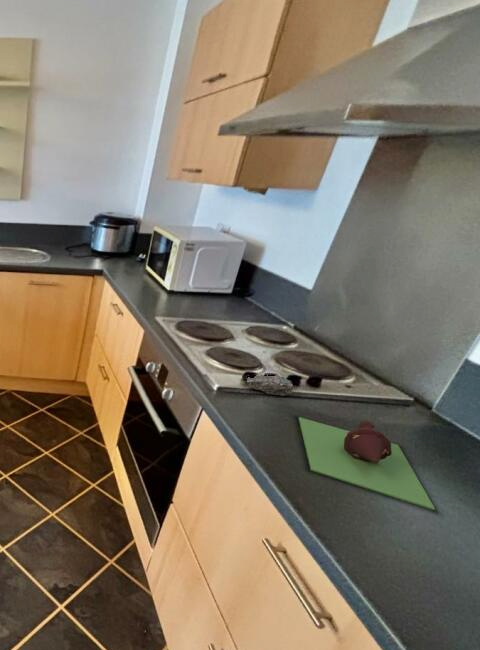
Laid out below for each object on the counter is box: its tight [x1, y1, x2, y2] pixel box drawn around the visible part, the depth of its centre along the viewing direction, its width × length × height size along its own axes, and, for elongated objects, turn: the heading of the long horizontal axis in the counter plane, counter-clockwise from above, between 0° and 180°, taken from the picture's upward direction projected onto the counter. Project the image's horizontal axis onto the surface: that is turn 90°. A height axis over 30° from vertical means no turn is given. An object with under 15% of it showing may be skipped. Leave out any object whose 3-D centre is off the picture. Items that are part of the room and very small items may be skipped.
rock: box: [245, 373, 294, 397], centre depth 109 cm, size 8×10×4 cm
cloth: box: [298, 416, 436, 511], centre depth 85 cm, size 18×22×1 cm
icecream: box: [344, 420, 392, 464], centre depth 83 cm, size 7×7×15 cm
